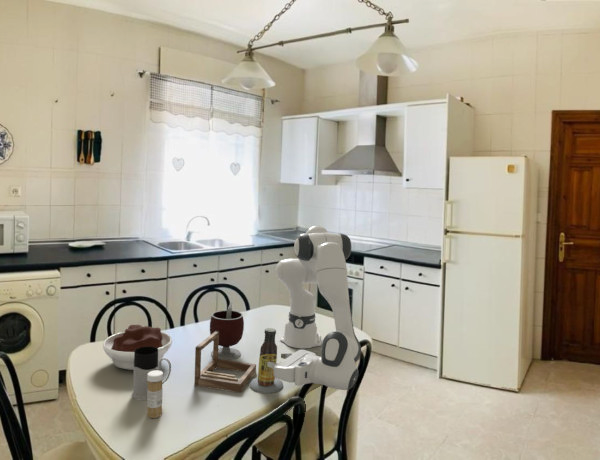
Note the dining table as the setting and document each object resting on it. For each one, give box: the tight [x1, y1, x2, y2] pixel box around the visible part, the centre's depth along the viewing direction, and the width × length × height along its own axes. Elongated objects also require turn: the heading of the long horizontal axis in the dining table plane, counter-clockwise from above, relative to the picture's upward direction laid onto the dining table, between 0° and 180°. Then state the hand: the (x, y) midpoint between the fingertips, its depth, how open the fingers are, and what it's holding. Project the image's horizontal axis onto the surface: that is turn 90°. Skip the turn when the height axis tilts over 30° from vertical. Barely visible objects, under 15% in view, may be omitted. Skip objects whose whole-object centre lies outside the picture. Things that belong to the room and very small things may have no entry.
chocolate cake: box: [102, 324, 173, 371], centre depth 175 cm, size 25×25×15 cm
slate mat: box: [248, 377, 284, 394], centre depth 164 cm, size 12×12×1 cm
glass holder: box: [131, 347, 172, 401], centre depth 151 cm, size 9×14×15 cm, turn 69°
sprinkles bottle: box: [146, 369, 164, 419], centre depth 139 cm, size 5×5×13 cm
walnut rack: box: [193, 331, 257, 393], centre depth 167 cm, size 18×17×14 cm
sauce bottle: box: [257, 327, 278, 386], centre depth 163 cm, size 6×6×20 cm
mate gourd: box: [209, 302, 245, 361], centre depth 190 cm, size 16×14×20 cm
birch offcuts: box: [202, 371, 239, 382], centre depth 163 cm, size 4×12×4 cm, turn 78°
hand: (275, 359), depth 161 cm, fingers open, 8 cm apart
